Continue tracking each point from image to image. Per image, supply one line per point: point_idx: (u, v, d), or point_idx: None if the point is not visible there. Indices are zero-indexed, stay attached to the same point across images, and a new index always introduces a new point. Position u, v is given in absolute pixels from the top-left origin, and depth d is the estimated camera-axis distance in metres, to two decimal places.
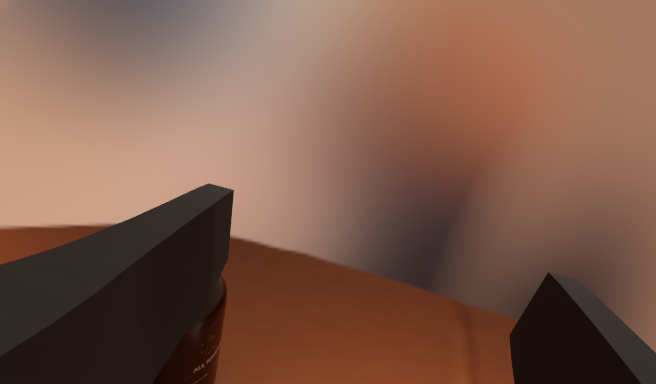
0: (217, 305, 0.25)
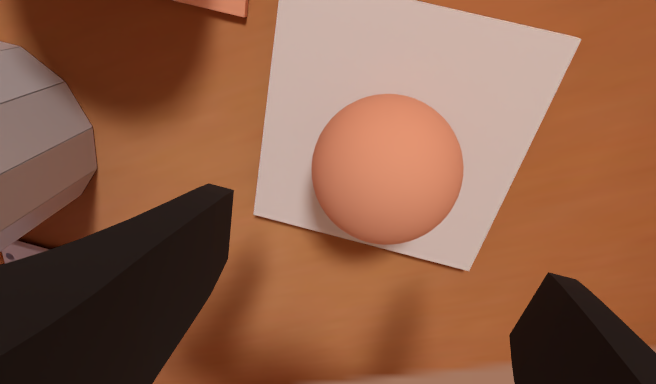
0: None
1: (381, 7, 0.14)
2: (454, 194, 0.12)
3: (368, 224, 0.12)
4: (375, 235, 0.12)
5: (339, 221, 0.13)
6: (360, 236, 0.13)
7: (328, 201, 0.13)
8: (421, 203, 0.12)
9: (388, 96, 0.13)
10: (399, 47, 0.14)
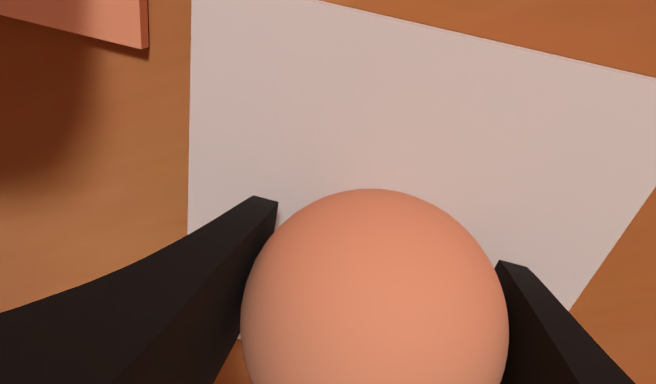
0: None
1: (363, 37, 0.08)
2: None
3: None
4: None
5: None
6: None
7: None
8: None
9: (372, 204, 0.07)
10: (394, 102, 0.08)
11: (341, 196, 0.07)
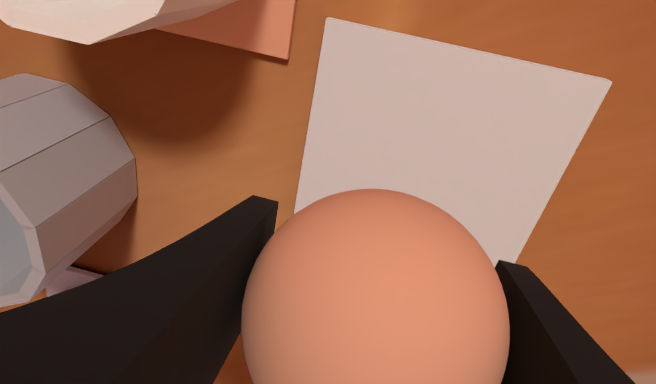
0: None
1: (420, 52, 0.14)
2: None
3: None
4: None
5: None
6: None
7: None
8: None
9: (373, 204, 0.07)
10: (436, 88, 0.15)
11: (342, 196, 0.07)
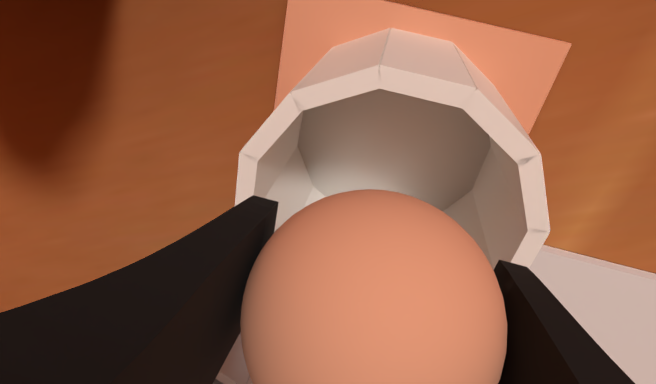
0: None
1: (592, 272, 0.17)
2: None
3: None
4: None
5: None
6: None
7: None
8: None
9: (367, 205, 0.07)
10: (600, 297, 0.18)
11: (337, 197, 0.08)
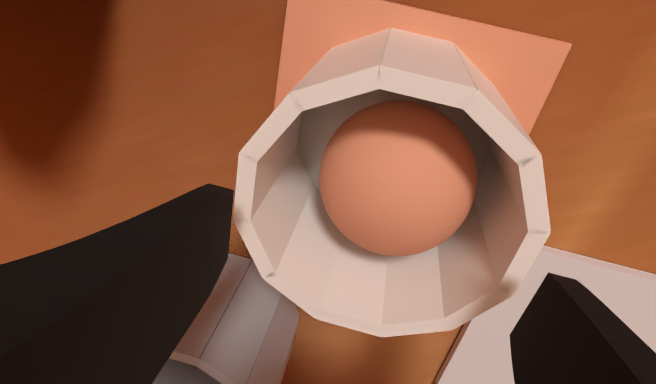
0: None
1: (592, 273, 0.17)
2: (473, 199, 0.12)
3: (391, 240, 0.12)
4: (399, 249, 0.12)
5: (358, 238, 0.12)
6: (381, 251, 0.12)
7: (346, 219, 0.12)
8: (445, 213, 0.11)
9: (396, 104, 0.12)
10: (600, 297, 0.17)
11: (375, 104, 0.13)
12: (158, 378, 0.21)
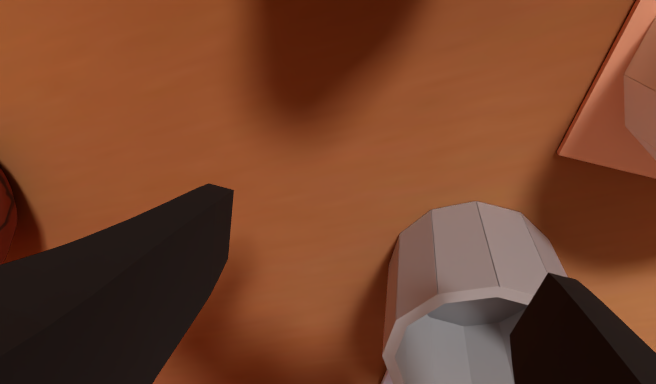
0: None
1: None
2: None
3: None
4: None
5: None
6: None
7: None
8: None
9: None
10: None
11: None
12: (410, 339, 0.20)
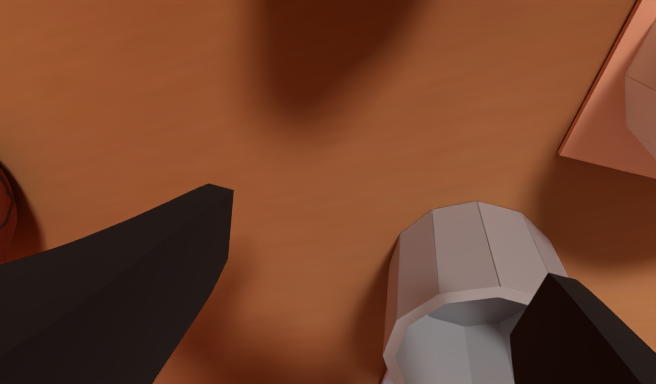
0: None
1: None
2: None
3: None
4: None
5: None
6: None
7: None
8: None
9: None
10: None
11: None
12: (411, 339, 0.20)
